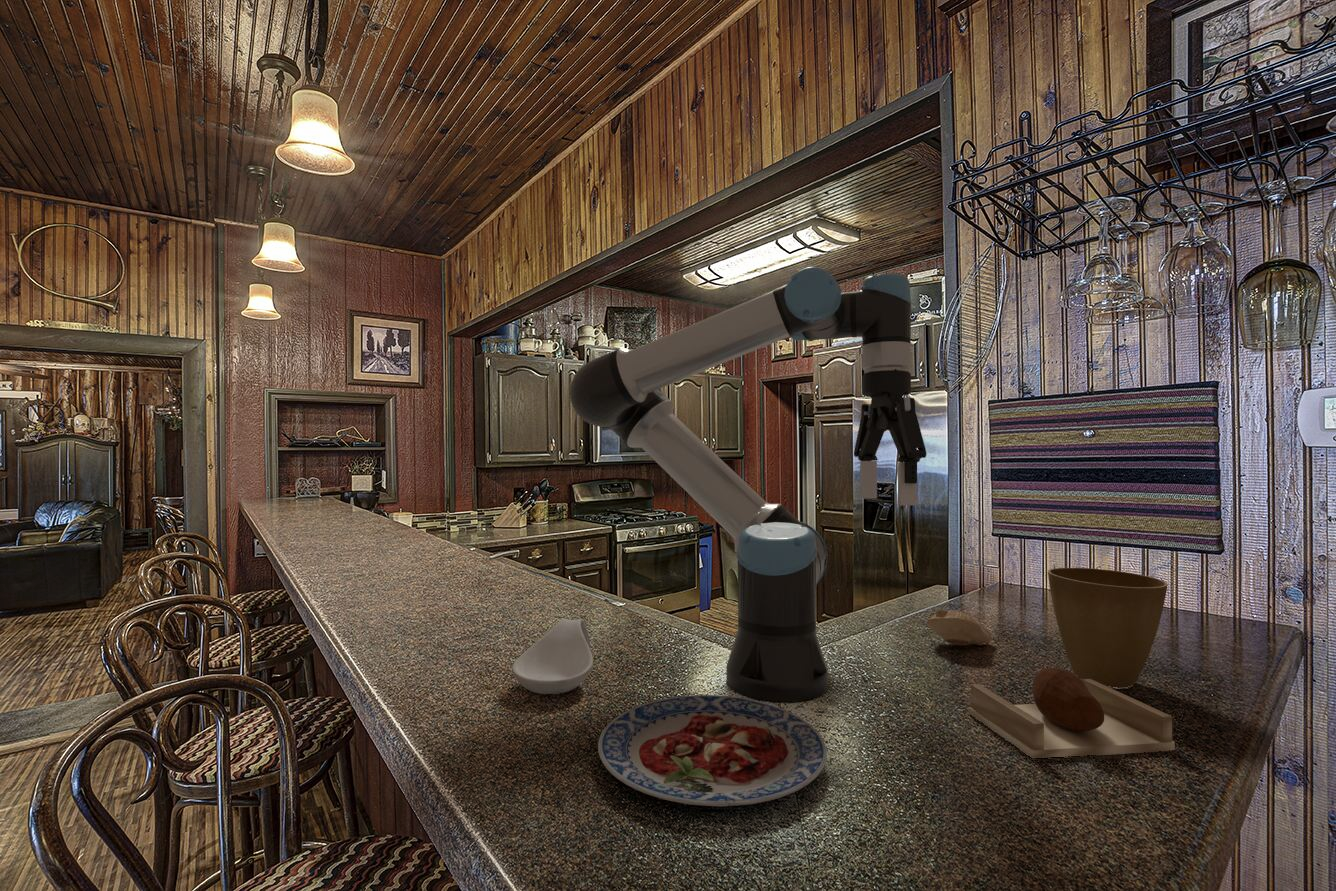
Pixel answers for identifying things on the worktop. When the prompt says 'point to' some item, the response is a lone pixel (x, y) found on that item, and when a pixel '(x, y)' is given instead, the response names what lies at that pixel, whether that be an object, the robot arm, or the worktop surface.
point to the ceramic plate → (712, 750)
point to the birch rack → (1038, 736)
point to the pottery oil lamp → (958, 628)
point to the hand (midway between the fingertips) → (886, 501)
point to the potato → (1066, 700)
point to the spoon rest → (556, 659)
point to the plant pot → (1106, 621)
